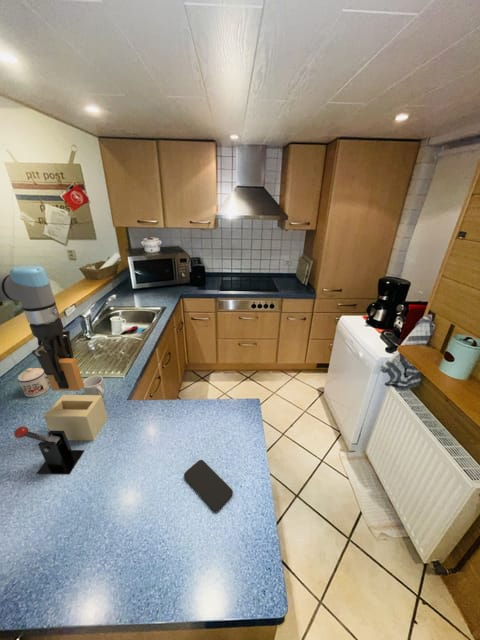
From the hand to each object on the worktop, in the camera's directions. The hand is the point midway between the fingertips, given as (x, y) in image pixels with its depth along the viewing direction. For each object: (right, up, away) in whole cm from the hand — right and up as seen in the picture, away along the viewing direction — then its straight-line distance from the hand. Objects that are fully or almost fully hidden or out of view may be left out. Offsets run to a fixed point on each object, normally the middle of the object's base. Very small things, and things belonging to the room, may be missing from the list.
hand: (67, 384), depth 82 cm
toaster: (0, -19, +9) cm, 21 cm away
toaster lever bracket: (0, -24, -3) cm, 25 cm away
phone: (+47, -28, -8) cm, 56 cm away
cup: (-3, -12, +24) cm, 27 cm away
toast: (0, -1, +1) cm, 2 cm away
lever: (-4, -15, -7) cm, 17 cm away
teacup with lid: (-30, -10, +28) cm, 42 cm away
